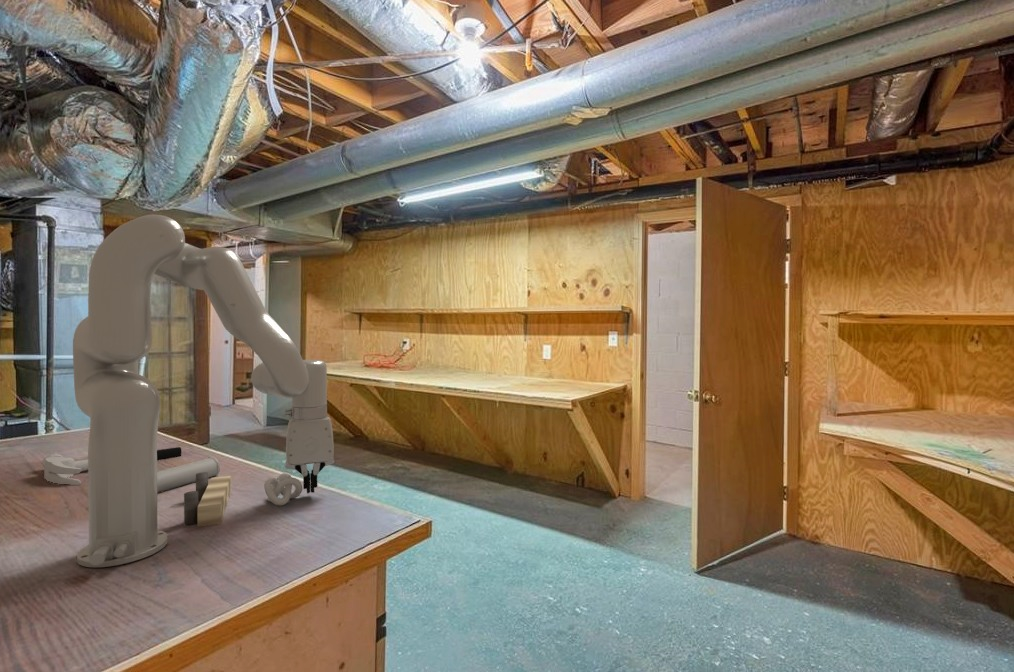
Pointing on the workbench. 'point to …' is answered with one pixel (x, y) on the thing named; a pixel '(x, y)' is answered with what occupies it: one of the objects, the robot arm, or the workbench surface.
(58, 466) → the claw hammer
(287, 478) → the knot
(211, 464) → the tube
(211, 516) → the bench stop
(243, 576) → the workbench surface
